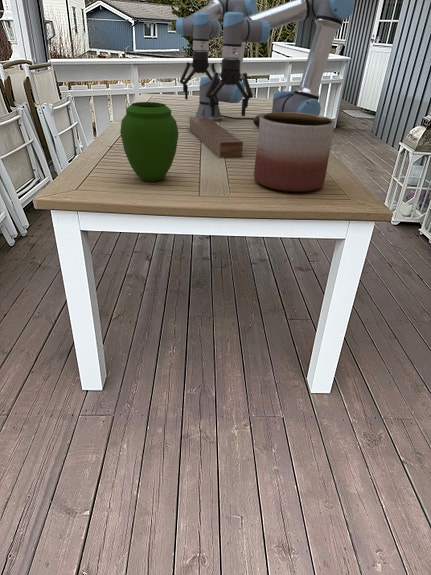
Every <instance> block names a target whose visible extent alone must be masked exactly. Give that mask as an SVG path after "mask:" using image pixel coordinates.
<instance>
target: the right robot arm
mask: <svg viewBox="0 0 431 575" xmlns="http://www.w3.org/2000/svg"><path fill="white" fill-rule="evenodd" d="M354 8H355V0H290V1H288V2H284V3H282V4H278V5H276V6H273V7H270V8H268V9H265V10H262V11H260V12H257V13H256V14H253V15H250V16H248V17H244V15H243V13H239V12H226V13H225V15H224V18H223V23H222V49H221V57H222V58H221V67H220V68H221V70H220V72H217V71H216V72H214V73H213V72H212V77H213V79H212V81H211V83H210V85H209V87H208V89H207V91H206V93H205V96H206V97H208V98H209V107H210V108H211V116H213V117H214V115H215V99H213V98H214V97H215V96H216V94H217V93H218V92H219V91H220V89H221V88H222V87H223V86H224V85H225V84H226V85H230V84H231V85H236V86H237V87H238V89H239V91H240V92H241V94H242V95H243V98H242V100H241V112H240V114H241V115H240V116H241V117H246V109H247V108H248V107H249V100H250V99H253V97H254V95H253V91H252V88H251V86H250V83H249V80H248V73H246V72H241V74H240V62H241V61H240V60H239V58H241V47H242V42H246V43H259V44H260V43H263V44H264V43H267V41H268V40H269V38H270V36H271V30H274V29H277V28H279V27H282V26H285V25H289V24H291V23H294V22H297V21H298V22H304V21H307V20H314V23H315V24H316V28H315V32H314V36H313V39H312V42H311V45H310V49H309V52H308V55H307V59H306V63H305V66H304V70H303V73H302V76H301V79H300V83H299V86H298V87H297V88H296V89H294V90H290V91H289V90H288V91H287V90H286V91H285V90H283V91H275V92H274V94H273V98H272V109H271V113H272V112H295V113H306V114H313V115H319V116H320V115H321V110H322V109H321V108H322V107H321V103H320V102H319V100H320V98H321V96H320V94H319V89H320V85H321V82H322V79H323V76H324V72H325V69H326V67H327V63H328V60H329V57H330V53H331V50H332V47H333V44H334V40H335V38H336V34H337V31H338V30H340V29H341V28H342V27H343V24H344V21H345V20H346V19H348V18H349V17H350V16H351V15H352V13H353V11H354ZM219 77H220V80H221V81H220V82H219V84H218V86H217V87H216V88H215V89H214V91H213V92H212V90H213V87H214V85H215V83H216V81H217V79H218V78H219ZM240 77H241V78H242V79H243V80H242V81H243V82H244V85H245V91H244V89H243V87H242V86H241V84H240V82H239V81H238V80H239V78H240ZM211 92H212V93H211Z"/></svg>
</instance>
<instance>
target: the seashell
mask: <svg viewBox="0 0 431 575" xmlns="http://www.w3.org/2000/svg"><path fill="white" fill-rule="evenodd" d="M262 114H266V113H265V112H262V113H259V114H257V115H256V116H255V117H253V118H254V119H252V121H253V125H254V126H255V127H257V128H259V122H260V116H261V115H262Z"/></svg>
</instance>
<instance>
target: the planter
mask: <svg viewBox="0 0 431 575" xmlns="http://www.w3.org/2000/svg"><path fill="white" fill-rule="evenodd" d="M261 114H262V113H261ZM335 124H336V122H335V120H334V119H331V118H330V117H326V116H323V115H320V114H319V115H313V114H306V113H295V112H272V111H271V112H266V113H265V114H262V115H261V116H260V122H259V127H258V131H257V132H258V134H257V142H256V149H255V150H256V151H255V158H254V170H253V178H254V180H255V181H256V182H257V183H258V184H259V185H262V186H263V187H265V188H268V189H271V190H274V191H279V192H285V193H307V192H312V191H316V190H318V189H320V188H321V187H323V186H324V184H325V180H326V175H327V171H328V164H329V158H330V153H331V152H330V151H331V147H332V141H333V135H334V130H335Z"/></svg>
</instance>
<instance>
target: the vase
mask: <svg viewBox="0 0 431 575" xmlns="http://www.w3.org/2000/svg"><path fill="white" fill-rule="evenodd" d="M125 113H126V114H125V115H124V117H122V119H121V122H120V123H121V124H120V130H119V133H120V138H121V142H122V147H123V150H124V154H125V155H126V158H127V160H128V163H129V165H130V167H131V168H132V170H133V172H134V173H135V175H136V176H137V177H138V178H139V179H141V180H143V181H145V182H159V181H161V180H163V179H164V178H165V176H166V175H167V174H168V173H169V170H170V169H171V167H172V165H173V162H174V159H175V157H176V156H175V155H176V153H177V147H178V140H179V129H178V122H177V120H176V119H175V117H174V116H173V115H172V109H171V108H170V107H169V106H167V105H166V104H164V103H162V102H155V101H138V102H132V103H131V104H130V105H128V107H127V108H125Z"/></svg>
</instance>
